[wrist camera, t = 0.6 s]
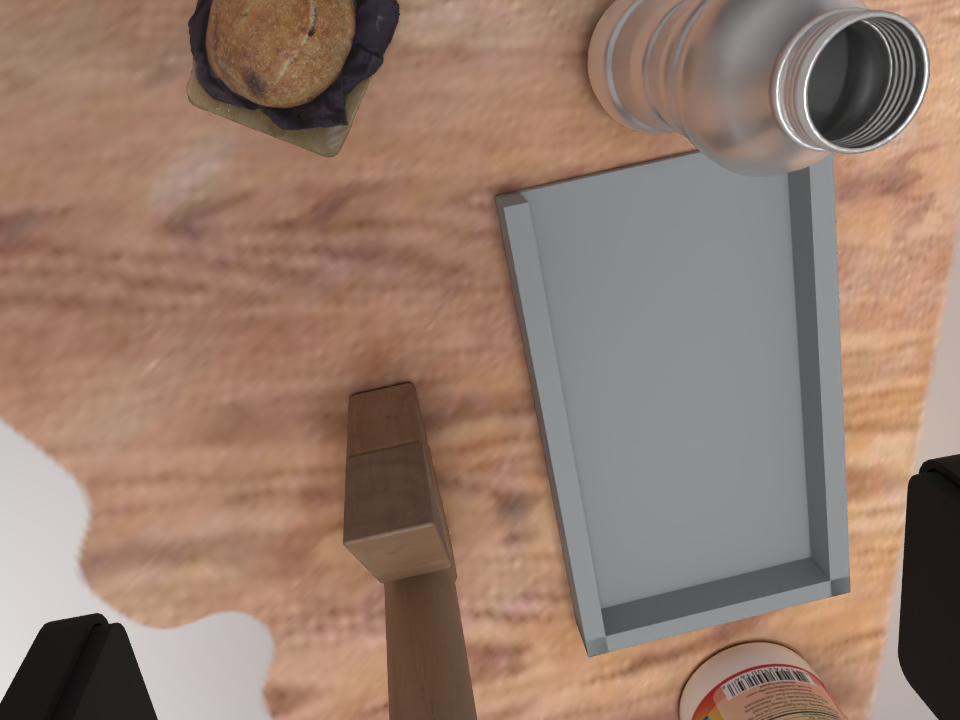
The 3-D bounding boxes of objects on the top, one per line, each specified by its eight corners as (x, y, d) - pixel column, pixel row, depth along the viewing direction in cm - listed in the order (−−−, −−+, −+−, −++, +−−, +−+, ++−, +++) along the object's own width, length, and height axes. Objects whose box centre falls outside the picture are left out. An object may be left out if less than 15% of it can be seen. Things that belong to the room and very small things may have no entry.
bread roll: (343, 164, 42) (342, 177, 39) (170, 94, 40) (153, 101, 37) (426, -56, 39) (433, -63, 36) (243, -145, 37) (232, -161, 34)
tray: (576, 624, 53) (588, 657, 51) (494, 195, 43) (503, 207, 40) (825, 562, 54) (850, 592, 51) (802, 126, 44) (832, 133, 41)
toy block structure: (413, 379, 46) (442, 581, 29) (452, 546, 50) (496, 806, 34) (345, 394, 46) (336, 605, 29) (390, 560, 50) (403, 828, 33)
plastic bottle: (734, 22, 41) (1033, 21, 23) (662, 150, 43) (884, 247, 25) (621, -48, 40) (847, -109, 21) (551, 89, 42) (701, 144, 23)
